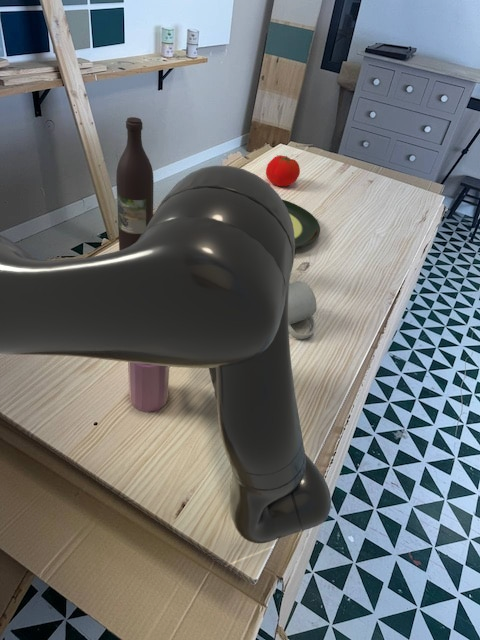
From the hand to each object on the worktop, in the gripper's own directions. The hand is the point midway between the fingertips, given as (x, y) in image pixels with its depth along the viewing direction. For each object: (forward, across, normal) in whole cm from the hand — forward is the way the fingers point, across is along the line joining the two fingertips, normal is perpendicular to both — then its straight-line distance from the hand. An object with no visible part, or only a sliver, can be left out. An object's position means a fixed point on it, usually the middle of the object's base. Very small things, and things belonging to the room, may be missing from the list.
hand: (217, 305), depth 73 cm
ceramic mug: (+9, -18, +13) cm, 24 cm away
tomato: (+73, -36, +13) cm, 83 cm away
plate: (+47, -24, +13) cm, 54 cm away
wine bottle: (+33, +10, +13) cm, 36 cm away
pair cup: (-6, +11, +13) cm, 18 cm away
